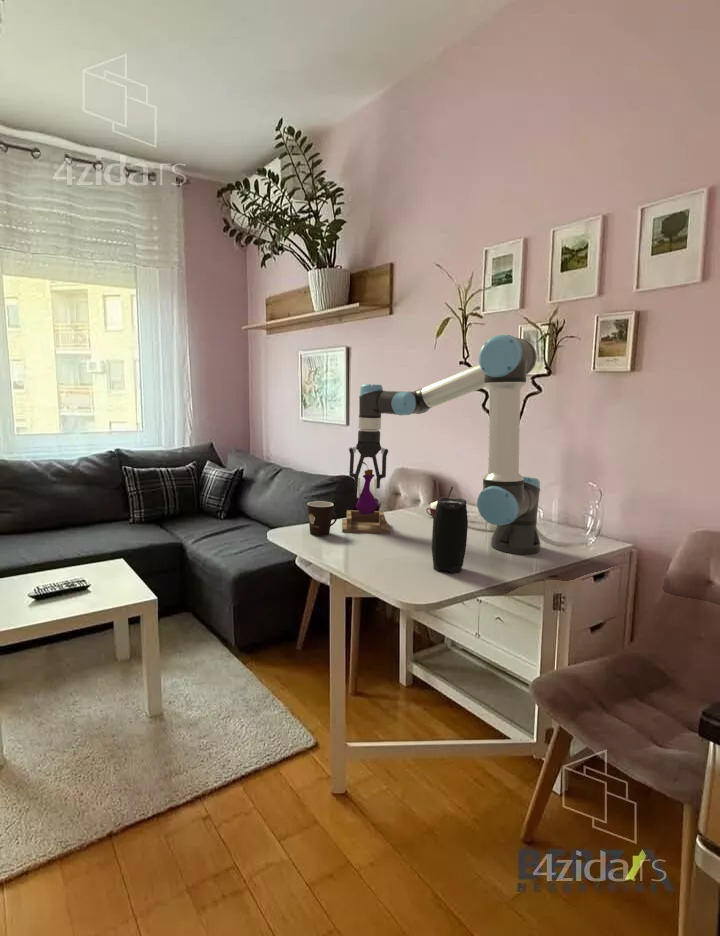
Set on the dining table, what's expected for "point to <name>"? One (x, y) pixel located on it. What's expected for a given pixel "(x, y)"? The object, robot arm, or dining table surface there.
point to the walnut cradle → (365, 522)
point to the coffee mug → (320, 517)
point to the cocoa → (434, 504)
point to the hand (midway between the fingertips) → (366, 497)
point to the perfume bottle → (367, 495)
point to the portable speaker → (449, 534)
